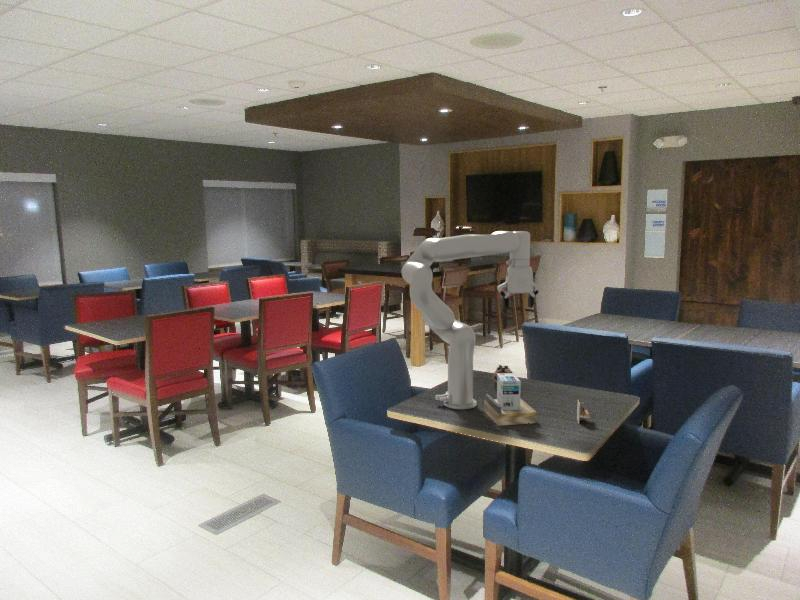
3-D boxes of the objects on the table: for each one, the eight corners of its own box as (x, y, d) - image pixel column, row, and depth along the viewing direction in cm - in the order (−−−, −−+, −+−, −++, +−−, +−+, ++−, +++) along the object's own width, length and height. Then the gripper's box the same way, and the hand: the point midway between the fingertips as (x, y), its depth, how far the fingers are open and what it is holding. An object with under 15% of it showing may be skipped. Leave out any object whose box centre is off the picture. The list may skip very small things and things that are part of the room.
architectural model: (586, 420, 208) (587, 400, 207) (589, 427, 202) (590, 406, 201) (576, 419, 209) (577, 399, 208) (578, 426, 202) (579, 405, 201)
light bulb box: (520, 410, 205) (521, 380, 204) (501, 410, 205) (502, 381, 204) (514, 400, 216) (514, 372, 214) (496, 401, 216) (496, 372, 214)
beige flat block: (497, 425, 202) (498, 407, 201) (483, 410, 218) (484, 393, 217) (536, 423, 204) (536, 405, 203) (519, 408, 220) (520, 391, 219)
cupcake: (516, 393, 239) (517, 369, 237) (492, 392, 240) (492, 368, 238) (514, 386, 248) (515, 363, 247) (491, 385, 249) (492, 362, 248)
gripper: (501, 264, 219) (500, 309, 222) (544, 263, 222) (543, 308, 225) (494, 263, 227) (493, 306, 229) (537, 262, 229) (535, 305, 232)
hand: (518, 307), depth 227 cm, fingers open, 9 cm apart
